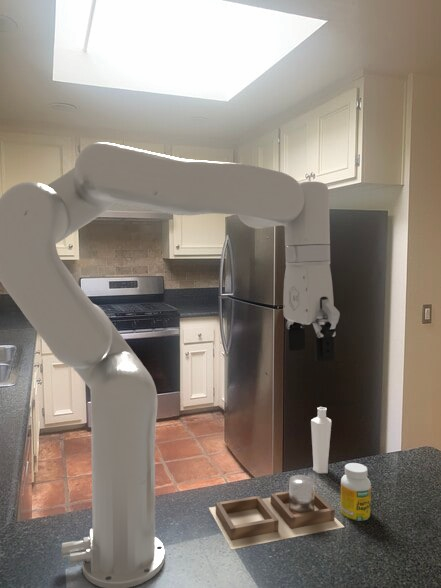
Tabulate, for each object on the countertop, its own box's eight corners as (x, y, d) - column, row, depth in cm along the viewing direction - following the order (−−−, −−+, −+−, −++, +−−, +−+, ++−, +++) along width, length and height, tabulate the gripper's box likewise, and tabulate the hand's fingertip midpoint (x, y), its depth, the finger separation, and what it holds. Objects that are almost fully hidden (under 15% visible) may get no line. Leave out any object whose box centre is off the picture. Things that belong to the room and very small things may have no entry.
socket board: (231, 555, 72) (231, 537, 71) (208, 512, 84) (208, 497, 84) (344, 532, 78) (345, 515, 78) (308, 496, 90) (308, 481, 90)
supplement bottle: (353, 506, 87) (354, 458, 86) (376, 520, 82) (378, 469, 81) (333, 515, 84) (335, 465, 83) (357, 529, 79) (358, 476, 78)
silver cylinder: (295, 521, 80) (296, 488, 79) (284, 507, 84) (284, 476, 84) (319, 516, 81) (319, 484, 81) (306, 503, 86) (307, 473, 85)
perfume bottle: (323, 481, 97) (325, 413, 96) (307, 474, 100) (308, 408, 99) (335, 474, 100) (337, 409, 99) (319, 468, 103) (320, 404, 102)
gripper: (267, 258, 84) (269, 348, 85) (313, 256, 67) (316, 368, 68) (302, 256, 86) (305, 344, 87) (356, 254, 69) (358, 363, 71)
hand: (309, 354), depth 78 cm, fingers open, 9 cm apart
